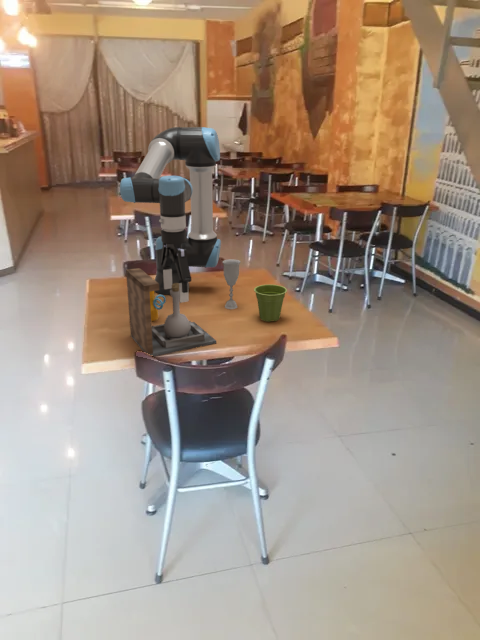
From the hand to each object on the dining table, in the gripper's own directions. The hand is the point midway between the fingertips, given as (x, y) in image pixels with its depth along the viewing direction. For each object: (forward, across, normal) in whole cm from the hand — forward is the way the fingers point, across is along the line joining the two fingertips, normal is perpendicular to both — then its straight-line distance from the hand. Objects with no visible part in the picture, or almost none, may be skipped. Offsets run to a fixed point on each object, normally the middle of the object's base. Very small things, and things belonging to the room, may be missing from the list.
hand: (175, 294), depth 161 cm
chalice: (+16, -18, +30) cm, 38 cm away
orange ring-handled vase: (+16, -20, -2) cm, 26 cm away
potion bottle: (+14, 0, 0) cm, 15 cm away
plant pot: (+16, -2, +37) cm, 40 cm away
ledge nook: (+15, 0, -2) cm, 15 cm away
